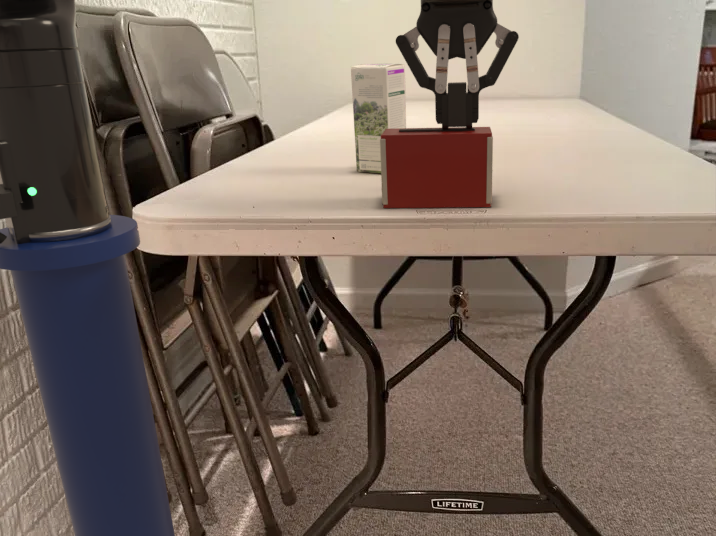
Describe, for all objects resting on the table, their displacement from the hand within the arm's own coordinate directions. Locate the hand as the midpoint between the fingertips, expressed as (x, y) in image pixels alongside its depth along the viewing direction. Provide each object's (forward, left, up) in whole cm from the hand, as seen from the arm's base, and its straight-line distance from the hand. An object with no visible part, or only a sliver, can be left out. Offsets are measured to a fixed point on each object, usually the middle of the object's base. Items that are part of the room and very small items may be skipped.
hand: (457, 127), depth 80 cm
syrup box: (+5, +24, -8) cm, 26 cm away
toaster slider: (0, 0, 0) cm, 0 cm away
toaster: (-2, +1, -8) cm, 9 cm away
